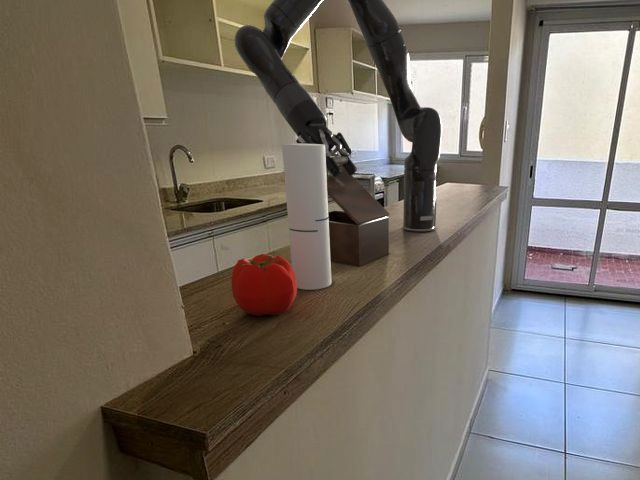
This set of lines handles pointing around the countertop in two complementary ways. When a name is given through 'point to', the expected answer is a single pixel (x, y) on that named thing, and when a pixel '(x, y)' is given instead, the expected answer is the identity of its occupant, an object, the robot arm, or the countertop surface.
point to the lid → (353, 196)
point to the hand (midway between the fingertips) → (346, 173)
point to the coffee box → (367, 182)
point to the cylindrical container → (308, 214)
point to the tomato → (264, 285)
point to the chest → (357, 239)
